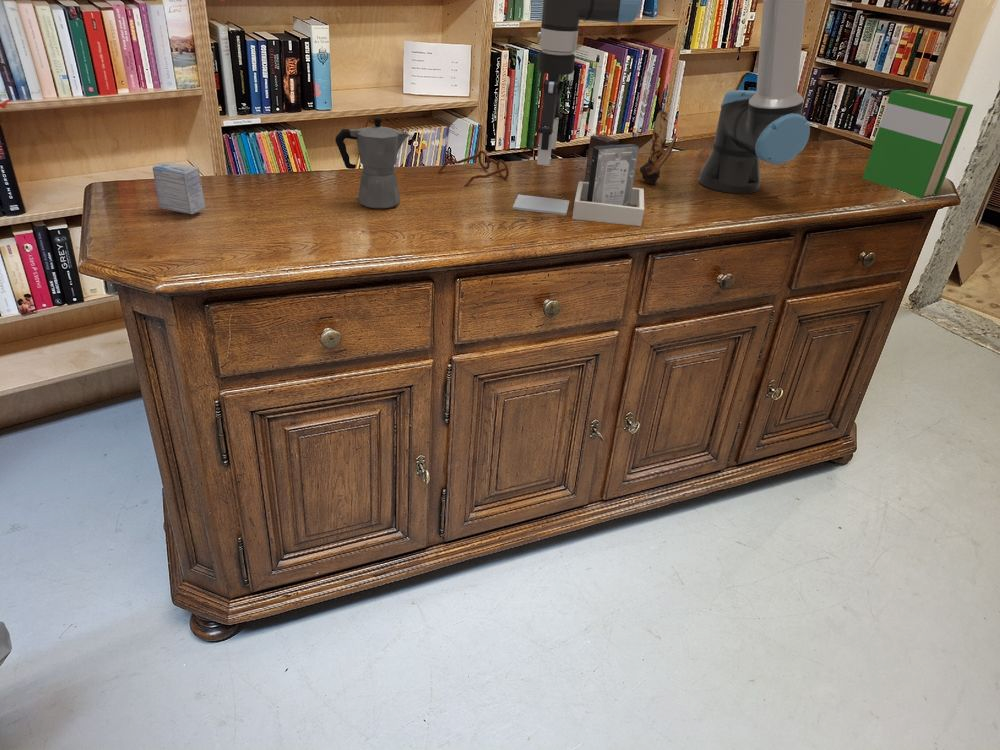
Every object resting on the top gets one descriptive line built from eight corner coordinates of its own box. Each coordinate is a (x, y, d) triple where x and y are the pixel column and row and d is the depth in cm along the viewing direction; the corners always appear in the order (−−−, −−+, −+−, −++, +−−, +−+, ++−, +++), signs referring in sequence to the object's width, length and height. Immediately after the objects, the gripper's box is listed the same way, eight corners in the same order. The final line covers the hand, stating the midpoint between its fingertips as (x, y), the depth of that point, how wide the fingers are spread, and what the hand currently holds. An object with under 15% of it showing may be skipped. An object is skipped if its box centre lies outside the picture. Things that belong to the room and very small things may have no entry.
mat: (569, 202, 172) (569, 200, 171) (566, 215, 164) (566, 213, 164) (518, 196, 173) (518, 194, 172) (512, 209, 165) (512, 206, 165)
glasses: (509, 182, 183) (510, 162, 180) (464, 188, 176) (465, 167, 174) (480, 167, 192) (481, 148, 189) (436, 173, 185) (437, 153, 183)
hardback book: (936, 200, 194) (973, 104, 181) (919, 203, 190) (955, 106, 178) (877, 180, 206) (908, 89, 194) (860, 182, 203) (891, 90, 190)
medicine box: (206, 209, 152) (199, 167, 148) (191, 215, 149) (184, 172, 144) (173, 202, 154) (166, 160, 150) (158, 208, 151) (151, 166, 146)
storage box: (640, 205, 173) (643, 188, 171) (641, 227, 161) (644, 209, 159) (576, 197, 175) (578, 181, 173) (572, 219, 162) (574, 201, 160)
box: (612, 189, 183) (620, 139, 176) (600, 191, 180) (607, 141, 174) (595, 182, 186) (602, 133, 180) (582, 184, 184) (589, 135, 178)
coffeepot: (404, 193, 169) (405, 112, 159) (412, 208, 161) (413, 123, 152) (336, 195, 165) (332, 111, 155) (340, 210, 157) (337, 123, 148)
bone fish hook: (667, 192, 184) (682, 117, 174) (650, 192, 182) (663, 117, 173) (652, 180, 191) (664, 108, 182) (635, 180, 190) (647, 107, 181)
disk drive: (590, 216, 165) (599, 148, 157) (584, 211, 167) (593, 145, 159) (629, 212, 169) (640, 146, 161) (623, 208, 171) (633, 143, 163)
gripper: (545, 41, 162) (536, 140, 173) (531, 59, 141) (522, 169, 152) (579, 45, 161) (567, 143, 173) (570, 63, 140) (558, 174, 152)
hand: (546, 156), depth 162 cm, fingers open, 13 cm apart
